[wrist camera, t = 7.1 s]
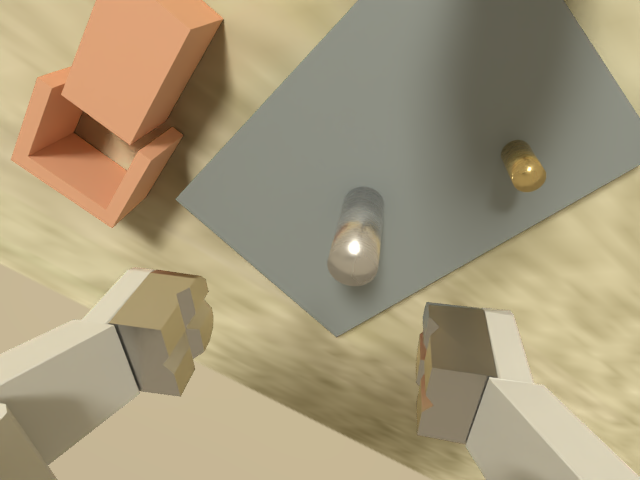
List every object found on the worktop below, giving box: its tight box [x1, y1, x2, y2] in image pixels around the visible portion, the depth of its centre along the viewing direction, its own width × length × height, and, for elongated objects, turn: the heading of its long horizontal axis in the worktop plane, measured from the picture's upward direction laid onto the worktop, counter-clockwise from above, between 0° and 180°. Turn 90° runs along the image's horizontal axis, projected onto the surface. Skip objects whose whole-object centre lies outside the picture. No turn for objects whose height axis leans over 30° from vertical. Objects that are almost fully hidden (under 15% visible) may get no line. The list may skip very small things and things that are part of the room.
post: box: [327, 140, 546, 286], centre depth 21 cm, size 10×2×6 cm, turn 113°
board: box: [175, 0, 640, 337], centre depth 24 cm, size 22×15×2 cm
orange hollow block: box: [11, 0, 223, 228], centre depth 23 cm, size 13×7×4 cm, turn 142°
